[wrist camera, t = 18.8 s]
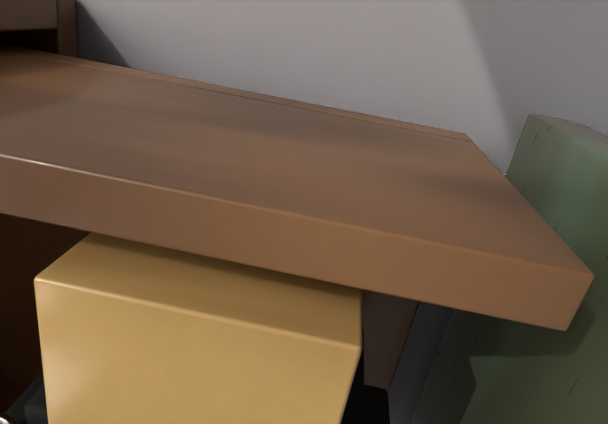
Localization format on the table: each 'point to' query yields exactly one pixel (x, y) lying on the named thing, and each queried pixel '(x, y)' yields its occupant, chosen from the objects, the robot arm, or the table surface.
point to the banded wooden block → (191, 339)
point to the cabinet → (40, 25)
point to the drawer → (322, 223)
